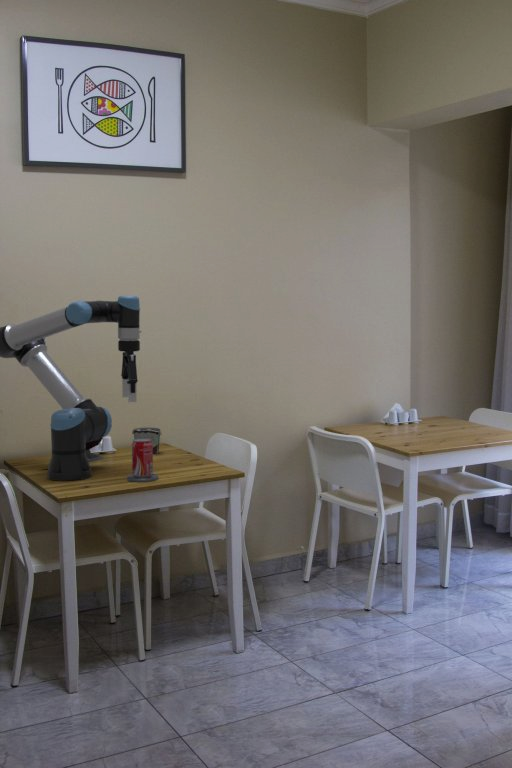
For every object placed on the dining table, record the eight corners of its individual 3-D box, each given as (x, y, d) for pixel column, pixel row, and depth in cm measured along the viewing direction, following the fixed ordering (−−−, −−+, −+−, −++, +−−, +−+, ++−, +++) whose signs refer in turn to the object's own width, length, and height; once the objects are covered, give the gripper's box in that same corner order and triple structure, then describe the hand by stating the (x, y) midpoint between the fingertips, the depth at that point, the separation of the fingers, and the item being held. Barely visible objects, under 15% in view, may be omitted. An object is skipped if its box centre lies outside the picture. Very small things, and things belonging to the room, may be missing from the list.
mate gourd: (69, 455, 338) (67, 405, 336) (104, 454, 341) (103, 405, 339) (66, 463, 323) (65, 411, 321) (104, 462, 325) (102, 410, 323)
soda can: (154, 474, 299) (154, 437, 298) (150, 478, 292) (149, 441, 290) (135, 474, 300) (134, 437, 298) (130, 478, 292) (129, 441, 291)
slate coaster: (130, 483, 289) (130, 481, 289) (123, 476, 299) (123, 474, 299) (162, 480, 293) (161, 478, 293) (154, 474, 303) (154, 472, 303)
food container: (166, 452, 345) (166, 427, 344) (160, 455, 339) (160, 430, 338) (139, 450, 349) (138, 426, 348) (132, 453, 343) (132, 428, 342)
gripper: (145, 342, 290) (146, 403, 292) (133, 337, 313) (134, 395, 316) (123, 342, 287) (124, 404, 290) (113, 337, 311) (113, 395, 313)
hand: (129, 399), depth 303 cm, fingers open, 13 cm apart
